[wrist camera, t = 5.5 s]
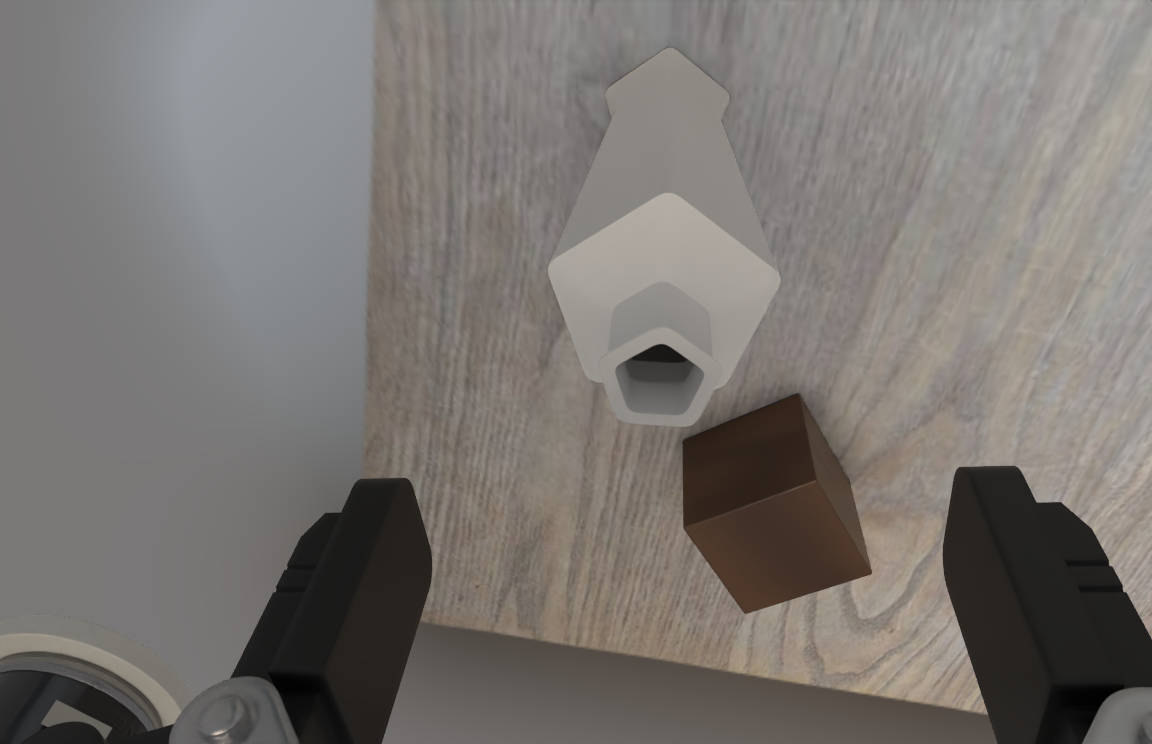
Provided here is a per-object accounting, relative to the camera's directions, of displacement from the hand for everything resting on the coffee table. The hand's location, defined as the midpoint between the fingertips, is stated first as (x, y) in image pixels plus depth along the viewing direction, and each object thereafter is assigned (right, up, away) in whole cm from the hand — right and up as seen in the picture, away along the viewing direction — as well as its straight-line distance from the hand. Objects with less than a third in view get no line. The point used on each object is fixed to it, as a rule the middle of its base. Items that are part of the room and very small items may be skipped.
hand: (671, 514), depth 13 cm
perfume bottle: (+2, +11, +15) cm, 18 cm away
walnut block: (+6, -1, +22) cm, 23 cm away
